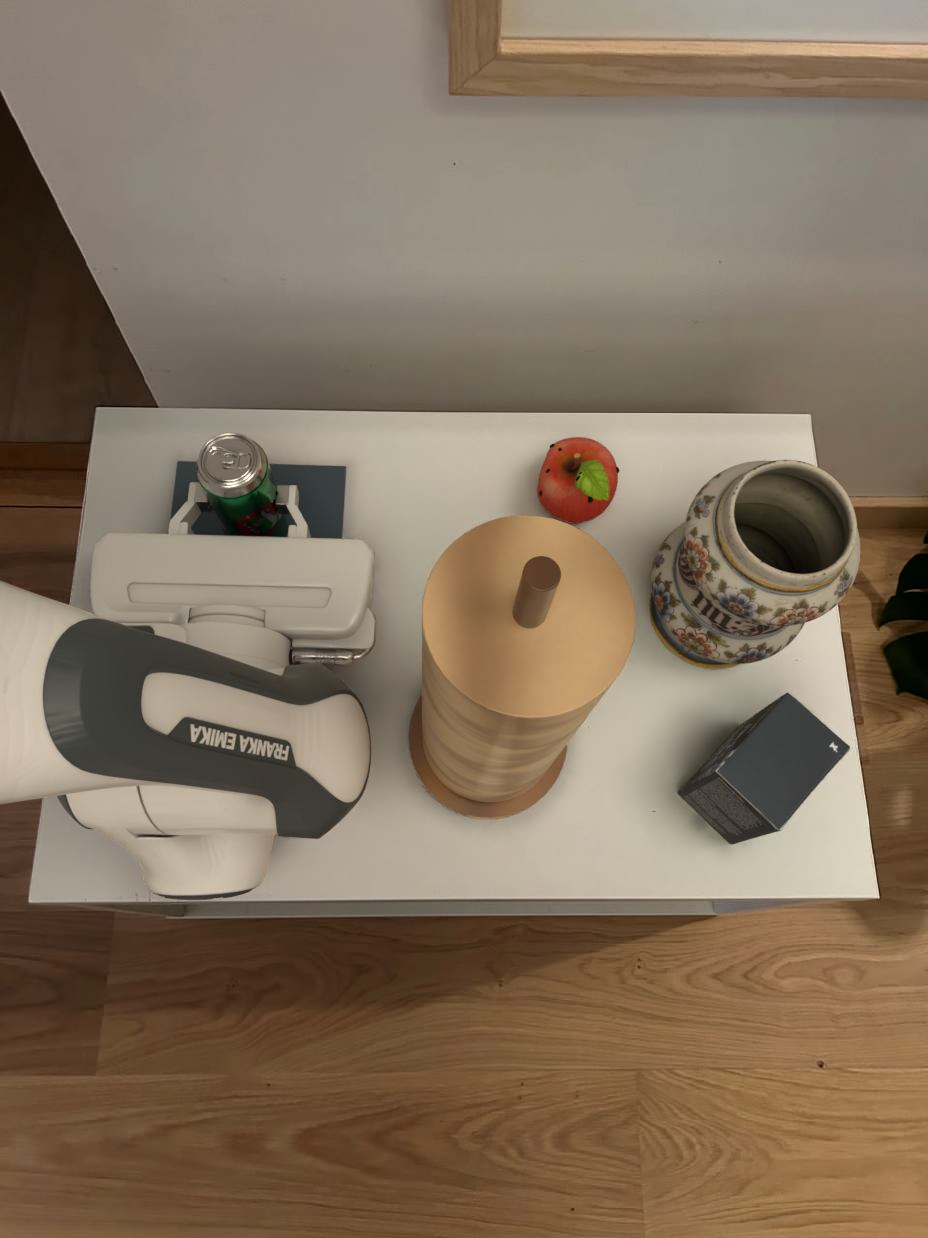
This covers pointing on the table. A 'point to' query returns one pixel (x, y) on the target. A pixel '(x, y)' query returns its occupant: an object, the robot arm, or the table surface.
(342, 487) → the mat
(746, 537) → the apothecary jar
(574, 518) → the apple
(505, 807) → the towel stand
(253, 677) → the robot arm
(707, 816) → the box
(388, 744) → the table surface
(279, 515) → the soda can
